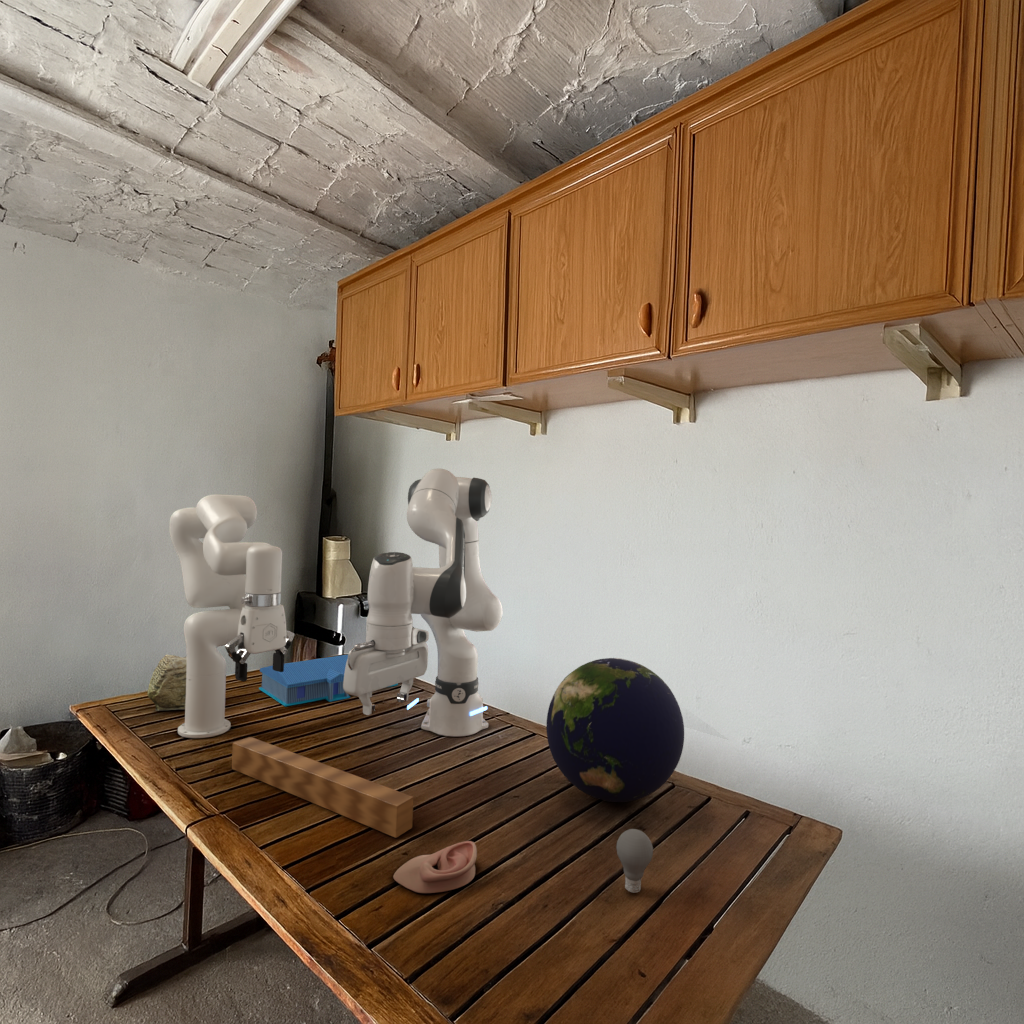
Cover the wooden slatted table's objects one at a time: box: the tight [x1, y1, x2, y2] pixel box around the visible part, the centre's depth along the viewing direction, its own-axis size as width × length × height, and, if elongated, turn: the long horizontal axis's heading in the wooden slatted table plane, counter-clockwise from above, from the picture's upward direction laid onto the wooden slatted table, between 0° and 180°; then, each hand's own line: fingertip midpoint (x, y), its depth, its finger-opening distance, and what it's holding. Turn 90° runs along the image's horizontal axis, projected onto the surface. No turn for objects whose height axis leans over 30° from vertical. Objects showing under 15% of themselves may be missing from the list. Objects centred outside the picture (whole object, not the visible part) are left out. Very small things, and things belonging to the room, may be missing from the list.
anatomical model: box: [392, 840, 478, 894], centre depth 108 cm, size 13×4×12 cm
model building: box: [258, 654, 399, 707], centre depth 208 cm, size 39×24×10 cm, turn 132°
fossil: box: [147, 654, 187, 712], centre depth 185 cm, size 9×18×15 cm, turn 132°
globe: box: [545, 657, 685, 803], centre depth 140 cm, size 30×30×30 cm
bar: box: [231, 736, 414, 839], centre depth 134 cm, size 50×5×6 cm, turn 58°
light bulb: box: [615, 828, 654, 894], centre depth 106 cm, size 6×6×10 cm
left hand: (260, 675), depth 144 cm, fingers open, 9 cm apart
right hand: (386, 707), depth 123 cm, fingers open, 8 cm apart
